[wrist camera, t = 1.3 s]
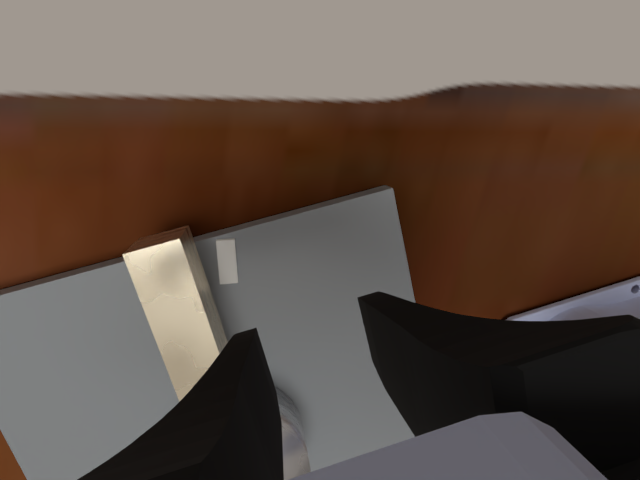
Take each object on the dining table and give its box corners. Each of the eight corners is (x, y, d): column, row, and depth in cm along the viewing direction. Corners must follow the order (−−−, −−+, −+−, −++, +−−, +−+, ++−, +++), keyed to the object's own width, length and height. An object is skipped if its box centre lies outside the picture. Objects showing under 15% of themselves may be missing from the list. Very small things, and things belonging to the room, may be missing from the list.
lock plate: (384, 185, 21) (395, 188, 19) (448, 501, 26) (460, 522, 25) (-44, 301, 19) (-68, 315, 17) (120, 617, 24) (112, 648, 23)
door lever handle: (314, 463, 22) (327, 522, 19) (201, 500, 22) (193, 570, 18) (237, 207, 18) (235, 223, 15) (98, 244, 18) (63, 270, 14)
